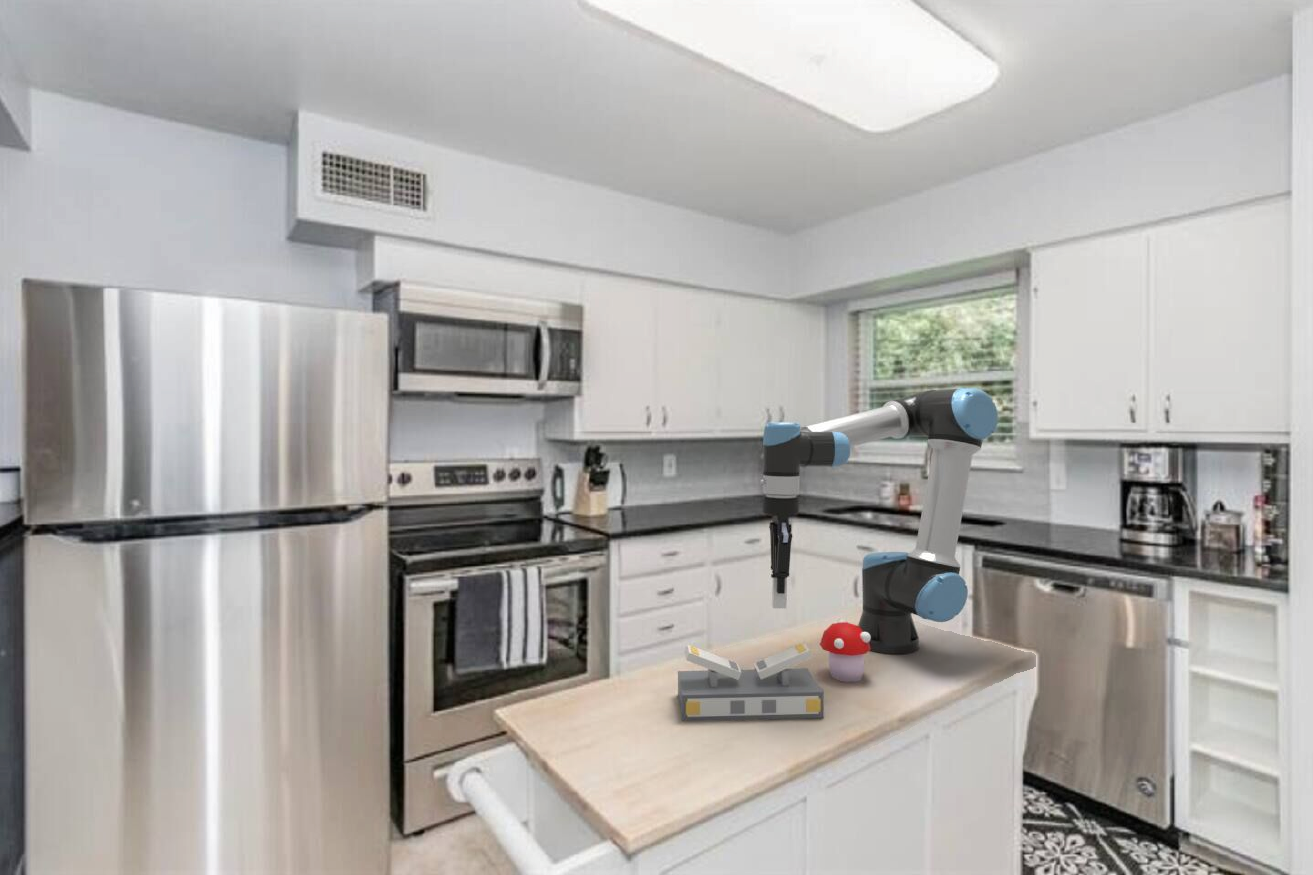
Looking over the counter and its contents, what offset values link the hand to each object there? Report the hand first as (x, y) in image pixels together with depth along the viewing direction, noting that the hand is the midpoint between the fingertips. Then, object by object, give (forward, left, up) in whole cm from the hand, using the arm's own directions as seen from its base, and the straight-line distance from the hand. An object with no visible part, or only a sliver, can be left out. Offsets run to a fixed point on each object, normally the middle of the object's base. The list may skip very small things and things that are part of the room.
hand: (779, 607), depth 140 cm
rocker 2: (+1, +8, -8) cm, 12 cm away
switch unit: (+8, +8, -17) cm, 21 cm away
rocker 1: (+15, +8, -8) cm, 19 cm away
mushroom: (-16, -6, -18) cm, 24 cm away
